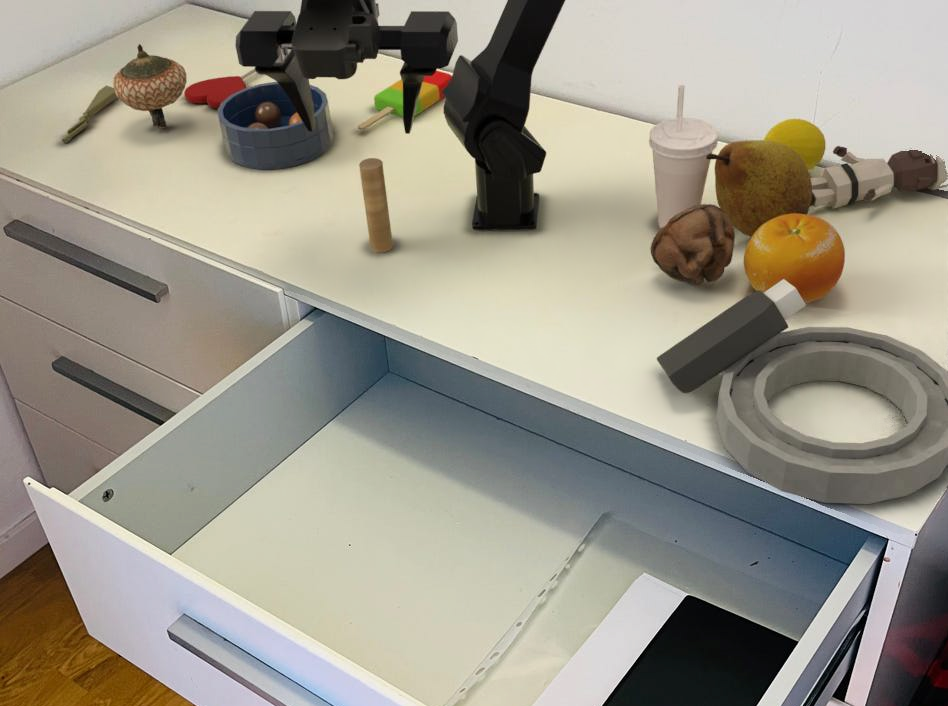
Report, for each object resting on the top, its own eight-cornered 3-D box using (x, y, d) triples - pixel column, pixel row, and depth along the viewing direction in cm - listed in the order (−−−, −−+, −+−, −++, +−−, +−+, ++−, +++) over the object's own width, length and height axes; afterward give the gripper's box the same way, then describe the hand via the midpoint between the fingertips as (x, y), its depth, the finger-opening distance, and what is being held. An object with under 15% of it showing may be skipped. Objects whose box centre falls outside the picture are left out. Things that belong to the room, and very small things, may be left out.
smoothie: (667, 201, 119) (675, 67, 109) (722, 219, 116) (736, 83, 106) (632, 229, 116) (637, 92, 106) (687, 248, 113) (698, 110, 103)
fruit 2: (805, 165, 115) (746, 78, 108) (839, 211, 109) (778, 123, 102) (732, 219, 119) (669, 139, 111) (760, 268, 112) (696, 186, 105)
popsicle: (458, 89, 140) (457, 74, 139) (379, 141, 132) (377, 125, 131) (422, 79, 143) (421, 64, 142) (342, 129, 135) (340, 114, 133)
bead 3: (315, 144, 131) (311, 118, 129) (289, 144, 131) (284, 119, 129) (320, 131, 133) (316, 106, 131) (294, 131, 134) (289, 106, 132)
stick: (391, 252, 115) (380, 169, 109) (369, 252, 115) (357, 169, 109) (394, 240, 117) (384, 157, 110) (372, 240, 117) (361, 157, 111)
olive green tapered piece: (107, 91, 144) (106, 84, 144) (129, 99, 144) (128, 92, 143) (44, 136, 137) (43, 130, 136) (68, 145, 136) (66, 138, 135)
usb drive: (668, 376, 93) (686, 402, 94) (797, 288, 91) (814, 316, 92) (655, 358, 98) (672, 383, 99) (778, 273, 96) (794, 300, 97)
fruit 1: (753, 185, 120) (814, 184, 124) (786, 157, 115) (849, 157, 119) (740, 137, 121) (801, 137, 125) (771, 107, 116) (834, 108, 120)
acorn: (211, 122, 138) (192, 38, 131) (159, 151, 133) (136, 66, 126) (164, 106, 142) (143, 23, 135) (112, 134, 137) (87, 50, 130)
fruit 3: (713, 245, 106) (772, 189, 100) (777, 247, 111) (837, 193, 104) (750, 325, 103) (812, 272, 97) (814, 323, 108) (877, 273, 102)
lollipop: (256, 52, 151) (177, 99, 142) (255, 45, 151) (175, 92, 142) (305, 63, 148) (227, 112, 139) (304, 56, 147) (226, 105, 138)
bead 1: (280, 133, 133) (276, 108, 131) (255, 134, 134) (250, 109, 132) (286, 121, 136) (281, 96, 134) (260, 121, 136) (255, 97, 134)
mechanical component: (701, 484, 89) (704, 454, 87) (734, 344, 101) (737, 315, 99) (953, 521, 84) (962, 491, 82) (955, 369, 97) (963, 340, 95)
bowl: (322, 169, 128) (316, 130, 125) (214, 170, 129) (205, 132, 126) (341, 117, 137) (335, 80, 134) (239, 119, 138) (232, 82, 135)
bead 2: (271, 155, 130) (266, 130, 128) (244, 156, 130) (239, 130, 128) (276, 142, 132) (271, 117, 130) (250, 143, 132) (245, 118, 130)
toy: (785, 152, 117) (929, 118, 117) (781, 190, 120) (920, 158, 121) (817, 203, 112) (967, 167, 112) (811, 241, 116) (956, 207, 116)
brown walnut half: (676, 256, 101) (651, 216, 104) (669, 311, 108) (645, 273, 110) (756, 228, 102) (729, 190, 104) (743, 285, 109) (719, 247, 111)
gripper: (197, -9, 93) (237, 171, 104) (427, -9, 90) (443, 176, 101) (239, -59, 101) (272, 114, 112) (452, -60, 98) (464, 117, 109)
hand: (359, 130), depth 108 cm, fingers open, 9 cm apart
